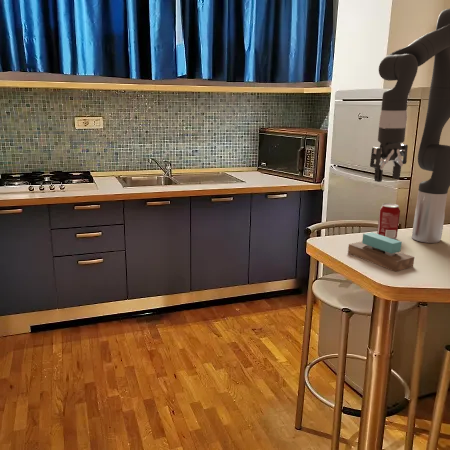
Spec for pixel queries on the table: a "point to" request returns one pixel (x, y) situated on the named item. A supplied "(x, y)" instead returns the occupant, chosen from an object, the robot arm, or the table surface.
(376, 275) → the table surface
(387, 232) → the soda can
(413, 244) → the table surface
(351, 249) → the board
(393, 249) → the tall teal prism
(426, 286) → the table surface
